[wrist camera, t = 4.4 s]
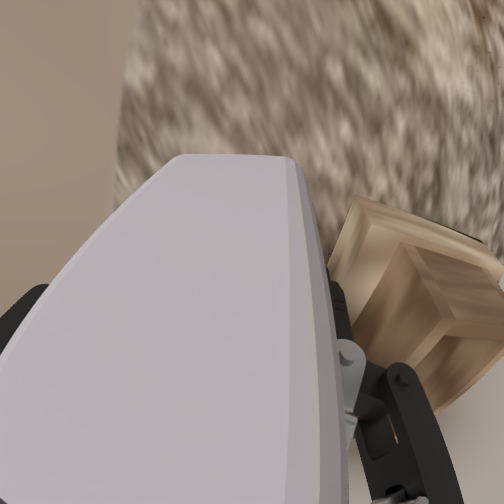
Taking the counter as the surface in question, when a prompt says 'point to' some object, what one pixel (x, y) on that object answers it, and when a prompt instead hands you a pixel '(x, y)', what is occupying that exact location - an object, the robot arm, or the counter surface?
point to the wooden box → (420, 297)
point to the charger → (183, 352)
